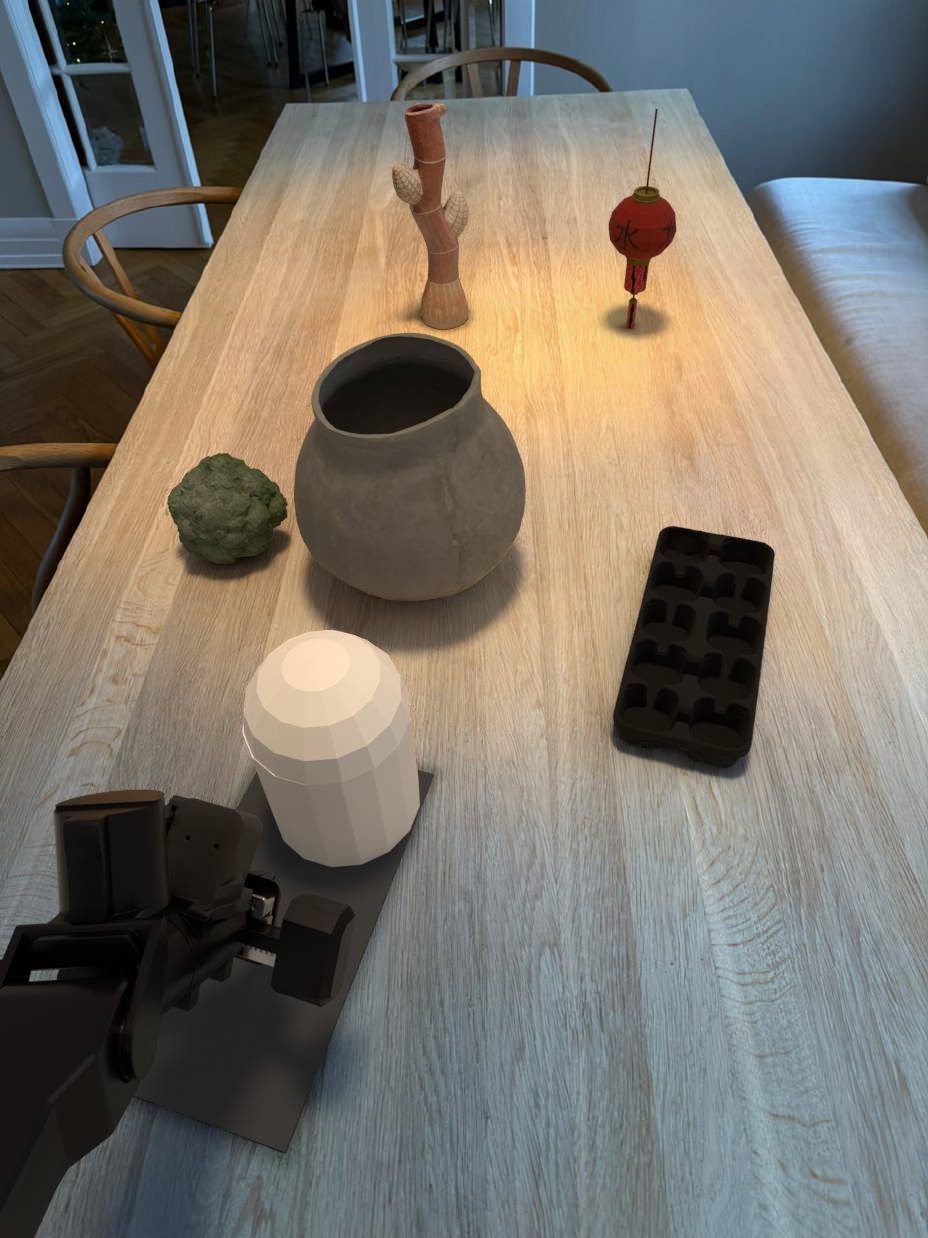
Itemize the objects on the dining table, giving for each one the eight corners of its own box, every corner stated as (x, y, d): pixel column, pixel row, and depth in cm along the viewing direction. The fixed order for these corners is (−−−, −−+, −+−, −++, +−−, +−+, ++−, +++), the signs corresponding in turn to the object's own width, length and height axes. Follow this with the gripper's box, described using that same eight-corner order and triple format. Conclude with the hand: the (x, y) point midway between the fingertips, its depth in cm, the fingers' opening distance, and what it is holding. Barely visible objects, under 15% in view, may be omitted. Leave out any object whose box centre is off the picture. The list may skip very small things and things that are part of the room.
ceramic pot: (268, 558, 102) (217, 368, 83) (430, 467, 112) (416, 280, 93) (399, 682, 89) (372, 490, 70) (568, 567, 99) (584, 374, 81)
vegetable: (312, 481, 107) (294, 512, 94) (255, 560, 111) (230, 603, 97) (226, 420, 104) (195, 443, 91) (171, 504, 108) (132, 539, 94)
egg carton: (610, 767, 82) (614, 744, 79) (607, 545, 102) (610, 520, 99) (805, 780, 80) (816, 757, 77) (763, 552, 100) (771, 527, 97)
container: (403, 723, 85) (383, 579, 71) (438, 844, 77) (423, 709, 62) (265, 757, 83) (214, 615, 68) (284, 885, 75) (231, 755, 60)
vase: (469, 303, 139) (463, 92, 117) (475, 327, 134) (470, 111, 112) (402, 309, 139) (384, 98, 116) (406, 333, 134) (387, 118, 112)
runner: (285, 1153, 62) (285, 1152, 61) (89, 1079, 65) (88, 1078, 65) (433, 775, 82) (433, 773, 82) (277, 734, 85) (277, 733, 85)
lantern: (673, 323, 133) (709, 105, 111) (639, 350, 129) (668, 128, 107) (621, 304, 138) (645, 90, 115) (586, 329, 133) (604, 111, 111)
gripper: (321, 873, 49) (406, 807, 64) (38, 789, 53) (180, 746, 68) (285, 1062, 50) (377, 953, 65) (9, 964, 54) (156, 883, 69)
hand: (270, 878), depth 67 cm, fingers closed
